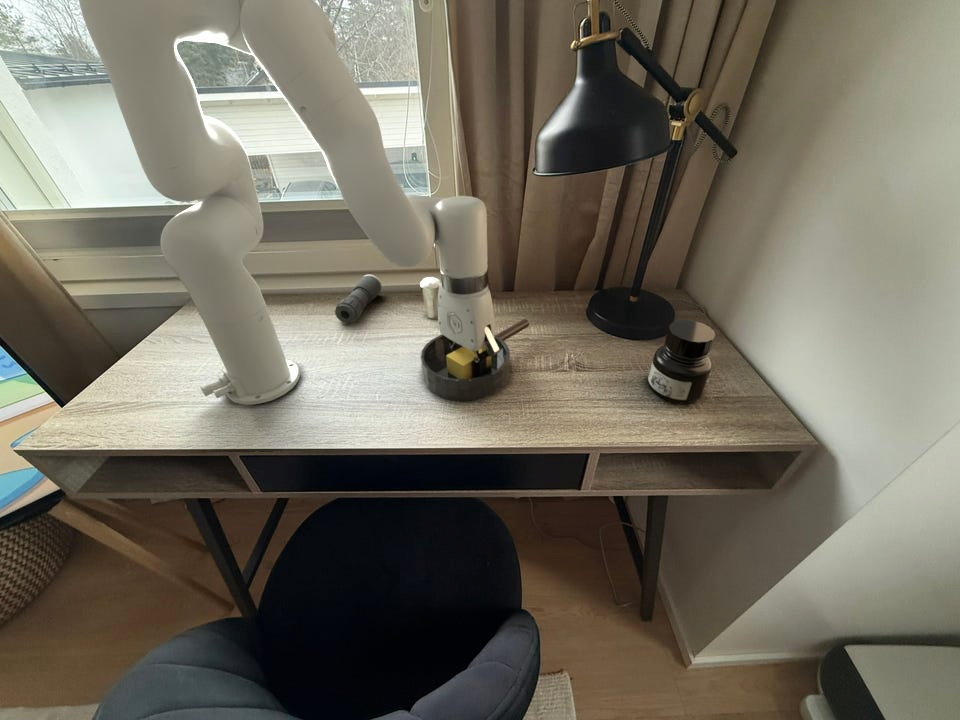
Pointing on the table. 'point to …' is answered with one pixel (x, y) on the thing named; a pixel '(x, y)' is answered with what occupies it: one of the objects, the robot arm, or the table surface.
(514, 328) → the pan handle
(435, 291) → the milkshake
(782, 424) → the table surface
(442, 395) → the pan
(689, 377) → the ink bottle
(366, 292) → the flashlight
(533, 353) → the table surface
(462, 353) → the sponge
